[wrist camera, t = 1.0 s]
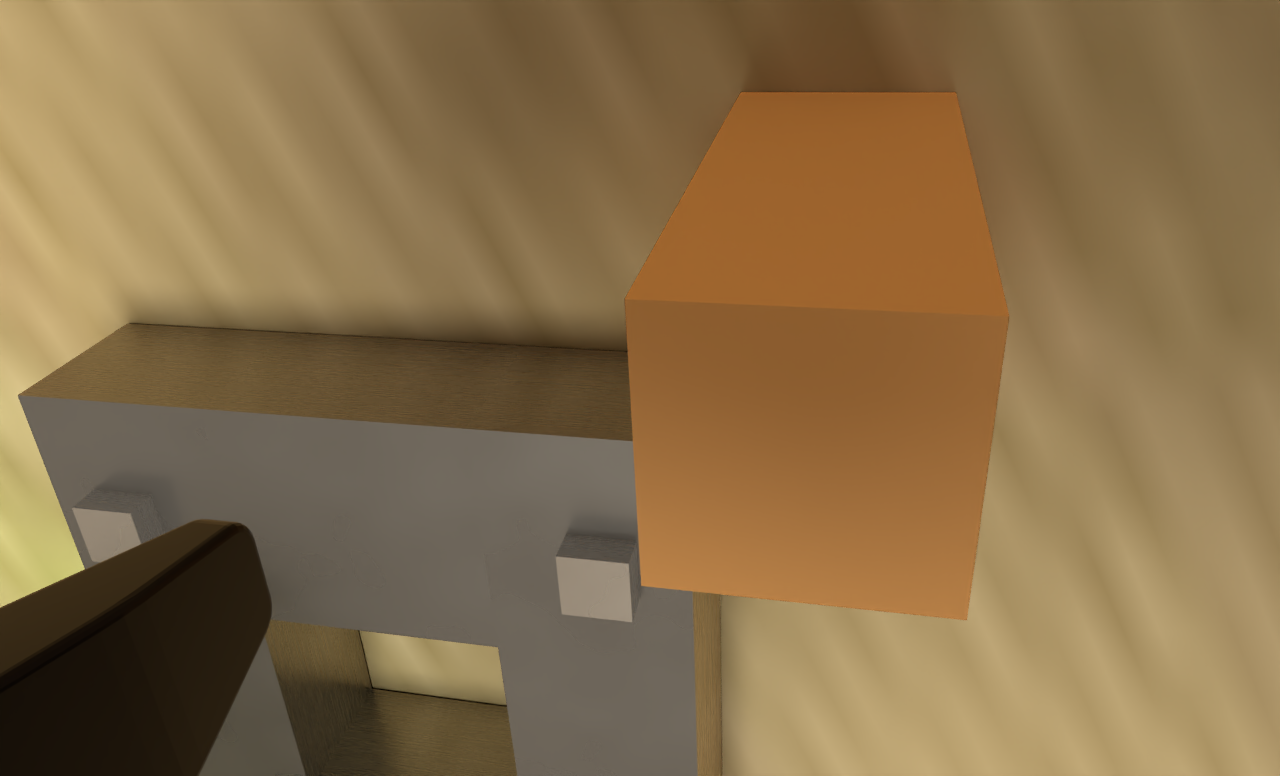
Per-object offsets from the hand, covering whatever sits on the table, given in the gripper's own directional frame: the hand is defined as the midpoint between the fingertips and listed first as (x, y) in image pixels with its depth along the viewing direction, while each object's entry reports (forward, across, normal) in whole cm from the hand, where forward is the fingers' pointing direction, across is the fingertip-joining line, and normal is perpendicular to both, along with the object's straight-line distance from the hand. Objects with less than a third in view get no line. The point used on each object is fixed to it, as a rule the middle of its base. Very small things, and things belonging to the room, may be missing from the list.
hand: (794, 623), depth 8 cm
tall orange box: (+10, 0, 0) cm, 10 cm away
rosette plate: (+10, +8, +10) cm, 16 cm away
